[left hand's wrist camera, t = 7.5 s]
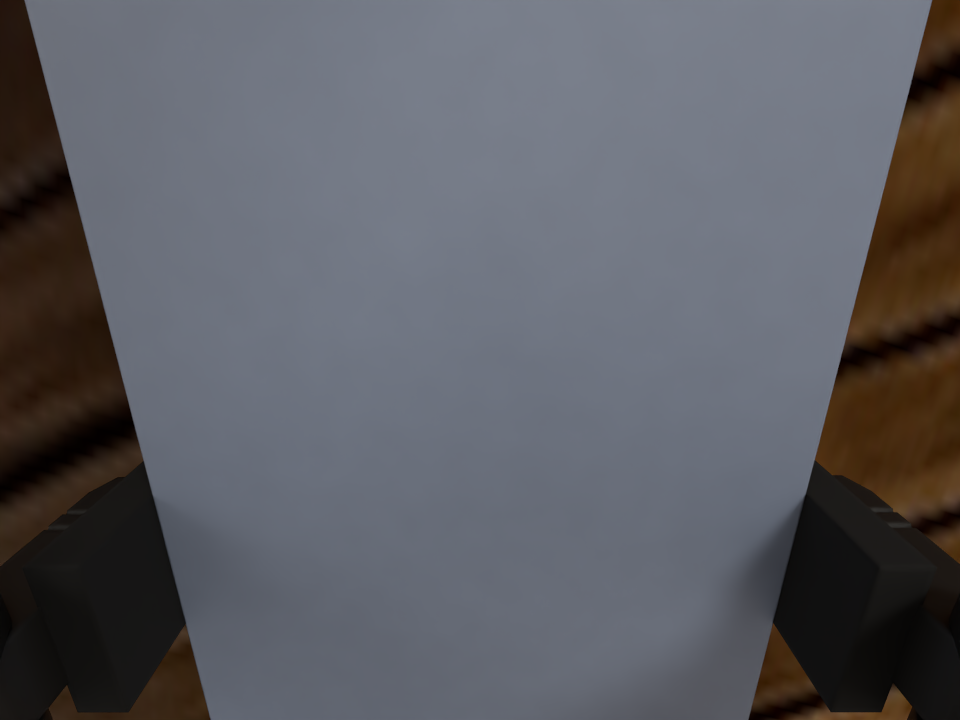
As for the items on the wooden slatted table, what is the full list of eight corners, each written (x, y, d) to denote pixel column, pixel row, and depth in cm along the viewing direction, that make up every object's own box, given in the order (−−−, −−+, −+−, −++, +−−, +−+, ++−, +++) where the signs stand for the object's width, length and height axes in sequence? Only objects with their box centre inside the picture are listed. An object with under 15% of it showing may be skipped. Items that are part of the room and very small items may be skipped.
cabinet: (292, -86, 15) (-165, -714, 4) (663, -85, 15) (1115, -706, 4) (346, 444, 20) (211, 728, 10) (611, 444, 21) (748, 726, 10)
